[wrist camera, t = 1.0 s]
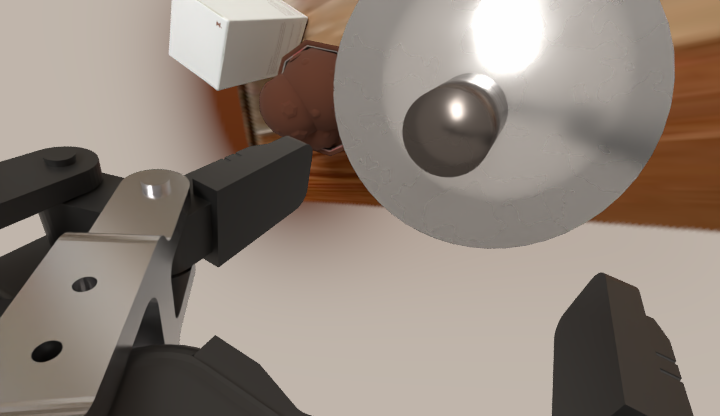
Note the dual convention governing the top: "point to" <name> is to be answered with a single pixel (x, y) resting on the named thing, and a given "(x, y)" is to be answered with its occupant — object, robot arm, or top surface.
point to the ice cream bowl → (304, 97)
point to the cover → (502, 110)
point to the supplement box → (233, 38)
